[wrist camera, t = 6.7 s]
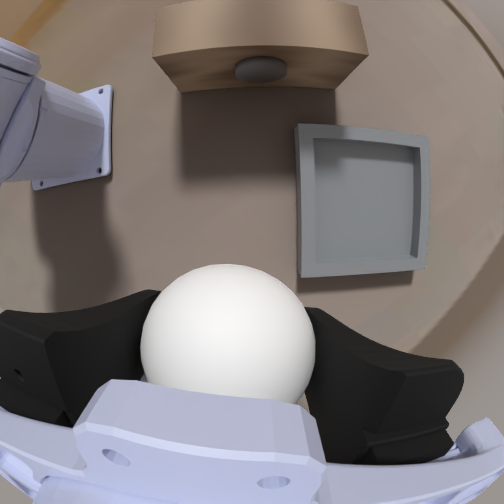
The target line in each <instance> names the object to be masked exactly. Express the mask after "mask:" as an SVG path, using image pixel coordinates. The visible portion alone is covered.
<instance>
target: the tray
mask: <svg viewBox="0 0 504 504" xmlns="http://www.w3.org/2000/svg"><path fill="white" fill-rule="evenodd" d="M294 134H295V155H296V184H297V271H298V273H299V275H300V276H301V278H309V277H326V276H343V275H358V274H372V273H386V272H399V271H411V270H422V269H425V265H426V256H427V247H428V235H429V220H430V153H429V139H428V137H425V136H420V135H414V134H408V133H402V132H395V131H388V130H381V129H373V128H364V127H353V126H341V125H326V124H302V123H298V124H297V126H296V127H295V128H294Z"/></svg>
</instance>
